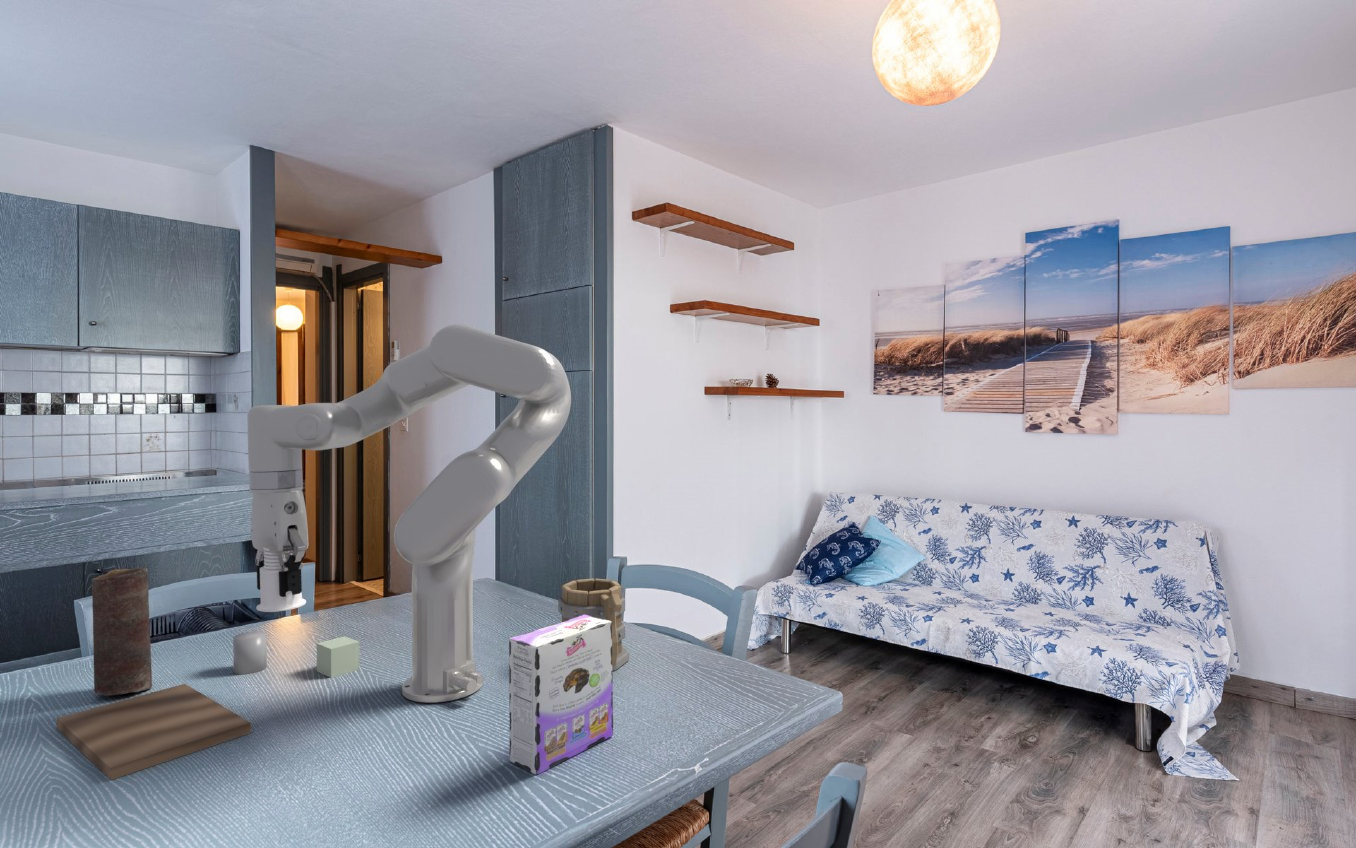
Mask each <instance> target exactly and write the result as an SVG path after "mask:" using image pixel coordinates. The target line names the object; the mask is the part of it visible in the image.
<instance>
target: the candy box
mask: <svg viewBox="0 0 1356 848" xmlns="http://www.w3.org/2000/svg"><path fill="white" fill-rule="evenodd" d="M508 642H509V643H508V645H509V647H508V649H509V651H508V653H509V654H508V655H509V658H508V659H509V660H508V661H509V663H508V665H509V666H508V667H509V669H508V672H509V680H508V681H509V688H508V689H509V691H508V692H509V699H508V700H509V714H508V715H509V762H511V763H513V764H515V765H516V766H518V767H520V768H523V769H524V770H525V771H528V772H529V773H530V774H533V775H536V776H537V775H539V774H541V773H543V772H546V771H548V770H550V769H551V768H553V767H554V766H557V765H559V764H562V763H563V762H564V761H566V760H568V759H571V758H572V757H575V756H576V755H579V754H580V753H583V752H584V751H586V750H587V749H590V748H592V747H594V746H596V745H597V744H600V743H601V742H604V741H605V740H607V739H608V738H611V737H612V736H614V706H613V705H614V703H613V700H614V698H613V685H614V684H613V683H614V682H613V671H612V621H608V620H604V619H601V618H596V617H592V616H588V615H582V616H579V617H576V618H573V619H570V620H567V621H564V622H562V621H561V622H558V623H555V624H552V625H548V626H546V627H542V628H539V629H536V630H533V631H528V632H526V633H523V634H520V635H516V636H514V637H510V638H509V639H508Z"/></svg>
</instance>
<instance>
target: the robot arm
mask: <svg viewBox="0 0 1356 848" xmlns="http://www.w3.org/2000/svg"><path fill="white" fill-rule="evenodd" d="M470 385H471V386H474V387H478V388H480V389H484V390H487V391H492V392H496V393H497V394H501V395H505V396H508V397H512V398H515V399H518V400H519V401H518V403H517V405H516V406H515V408H514V409H513V410H512V412H511V413H510V414H508V415H507V416H506V417H505V418H504V419H503V420H502V421H501V423H499V425H498V426H497V427H496V428H495V430H494V431H492V433H491V434H490V435H489V436H488V437H487V438H486V439H485V440H484V441H483V442H482V443H481V444H480V445H478V446H477V447H476V448H475V449H472V450H469V451H468V450H467V451H465V452H463V453H462V454H460V455H457V457H455V458H454V459H453V460H451V461H450V462H449V463H448V464H447V465H446V466H445V467H444V468H443V469H442V470H441V471H440V472H439V474H437V476H436V477H435V478H434V479H433V480H432V481H431V482H430V483H429V484H428V485H427V486H426V487H425V488H424V489H423V491H422V492H421V493H419V495H418V496H417V497H416V498H415V499H414V500H413V501H412V502H411V503H410V504H409V506H408V507H407V508H406V509H405V510H404V511H403V512H402V514H401V515H400V516H399V518H398V520H397V521H396V524H395V527H394V531H393V542H394V546H395V549H396V551H397V552H398V554H399V556H400V557H401V558H403V560H405V561H406V562H408V563H409V564H412V571H411V659H412V660H411V663H412V664H411V669H412V670H411V671H412V672H411V674H412V676H411V677H409V678H408V679H406V680H405V681H404V682H403V683H402V686H401V693H402V696H403V697H404V698H406V699H407V700H409V701H413V702H418V703H431V704H432V703H444V702H450V701H455V700H459V699H462V698H465V697H468V696H471V695H472V694H474V693H476V692H477V691H478V690H480V689H481V688H482V687H483V683H484V679H485V678H484V675H483V674H482V673H480V672H479V671H478V670H477V662H476V661H474V614H473V613H474V612H473V610H474V606H473V605H474V603H473V602H474V601H473V599H474V597H473V595H474V593H473V592H474V553H475V543H476V528H477V527H478V526H479V525H480V524H481V523H482V521H484V520H485V518H486V517H487V516H488V515H489V514H490V513H491V512H492V511H493V510H494V509H495V508H496V507H497V506H498V505H499V504H500V503H502V502H503V501H505V499H507V497H509V495H510V494H511V492H512V491H513V490H514V488H515V486H516V485H517V484H518V483H519V482H520V481H521V480H522V478H524V476H525V475H526V474H527V473H528V472H529V471H530V469H531V468H532V467H533V466H534V465H535V464H536V462H538V461H539V460H540V458H541V457H542V456H543V455H544V453H545V452H546V451H547V450H548V449H549V448H550V446H551V445H552V444H553V443H554V442H555V441H556V439H557V438H558V437H559V435H560V434H561V432H562V431H563V428H564V427H565V425H566V423H567V421H568V418H569V415H570V411H571V405H572V392H571V386H570V381H569V379H568V376H567V373H566V371H565V369H564V367H563V365H562V363H561V362H560V361H559V359H558V358H557V357H555V355H553V354H552V353H550V352H548V351H547V350H545V349H544V348H541V347H539V346H536V345H533V344H529V343H526V342H521V341H518V340H515V339H512V338H508V337H504V336H502V335H498V334H494V333H491V332H487V331H485V330H480V329H478V328H476V327H473V326H469V325H466V324H461V323H459V324H457V323H455V324H451V325H450V324H449V325H448V326H445V327H442V328H441V329H439V330H438V331H437V332H436V333H435V334H434V335H433V337H432V339H431V340H430V342H429V345H426V346H424V347H423V348H421V349H419V350H416V351H415V352H412V353H411V354H409V355H406V356H404V357H402V358H400V359H398V360H395V361H393V362H391V363H389V364H388V365H387V366H386V368H384V370H383V373H382V375H381V377H380V378H379V379H378V380H377V382H375V383H374V384H372V385H371V386H369V387H367V388H366V389H364V390H362V391H360V392H358V393H356V394H354V395H352V396H350V397H348V398H346V399H343V400H342V401H341V400H340V401H338V402H336V403H335V402H311V403H305V404H298V405H289V404H287V405H286V404H284V405H283V404H282V405H281V404H264V405H263V404H262V405H255V406H252V407H251V408H250V409H249V410H248V412H247V419H246V420H247V448H248V449H247V454H248V455H247V457H248V482H249V483H248V489H249V490H248V493H250V494H251V493H252V497H251V498H252V501H251V515H250V516H251V519H250V520H251V523H250V527H251V528H250V529H251V533H250V534H251V543H252V547H253V548H254V550H253V553H254V554H255V565H256V588H257V590H259V591H260V568H261V567H263V566H264V565H265V564H264V551H266V552H270V553H273V554H276V555H278V558H279V562H280V566H281V570H282V571H280V572H279V595H280V596H281V597H286V592H288V591H292V595H295V594H300V593H301V592H302V591H303V589H302V587H303V586H302V569H303V561H304V558H305V557H304V556H305V553H306V550H307V549H308V548H309V544H310V543H309V530H308V517H307V508H306V502H305V496H304V493H303V489H304V486H303V485H304V482H303V478H304V477H303V452H302V451H303V450H306V451H307V450H308V451H325V450H330V449H336V448H337V449H339V448H345V447H348V446H351V445H354V444H356V443H358V442H361V441H362V440H364V439H367V438H369V437H371V436H373V435H375V434H377V433H379V432H381V431H382V430H384V429H386V428H389V427H390V426H392V425H394V424H396V423H397V422H399V421H401V420H402V419H405V418H407V417H408V416H411V415H412V414H413V413H415V412H417V411H418V410H420V409H422V408H424V407H427V406H428V405H431V404H433V403H434V402H436V401H439V400H440V399H442V398H444V397H447V396H449V395H451V394H453V393H455V392H457V391H460V390H461V389H463V388H465V387H467V386H470ZM288 547H293V548H292V550H287V551H284V549H283V548H288ZM264 548H267V549H269V551H267V550H264ZM285 556H289V558H288V560H287V561H286V557H285ZM302 593H303V592H302Z"/></svg>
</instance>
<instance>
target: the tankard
mask: <svg viewBox="0 0 1356 848" xmlns="http://www.w3.org/2000/svg"><path fill="white" fill-rule="evenodd" d="M622 592H623V591H622V585H621V584H620V583H619V582H617V581H615V580H614V579H613V580H612V579H605V578H603V579H602V578H594V577H593V578H585V579H575V580H572V581H569V582H567V583H564V584H563V585H562V586H561V597H560V598H558V600H557V611H558V613H559V614H560V615H561V622H564V621H567V620H570V619H573V618H576V617H579V616H582V615H588V616H592V617H596V618H601V619H604V620H608V621H612V672H615V671H616V670H618V669H620V668H622V666H623V665H625V664H626V663H628V662H629V661H630V651H628V650H627V648H625V647H624V646H623V645H622V643H623V642H622V641H623V640H624V639H625V638H626V625H625V624H624V623H622V621H623V620H622V617H623V616H622V615H623V614H622V613H624V612H626V599H625V598H624V597H623V596H622Z"/></svg>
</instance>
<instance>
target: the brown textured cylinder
mask: <svg viewBox="0 0 1356 848" xmlns="http://www.w3.org/2000/svg"><path fill="white" fill-rule="evenodd" d="M91 591H92V595H91V597H92V635H93V636H92V637H93V638H92V639H93V642H92V643H93V690H94V691H93V692H94V694H98V695H101V696H119V695H124V694H125V695H126V694H129V693H140V692H143V691H148V690H151V689H152V687H153V678H152V677H153V672H152V670H153V669H152V652H151V651H152V650H151V646H152V645H151V630H150V629H151V628H150V603H149V602H150V601H149V597H150V596H149V572H148V568H147V567H145V568H143V567H142V568H141V567H138V568H137V567H136V568H131V569H129V568H124V569H123V568H122V569H113V570H109V571H108V572H107V573H105V574H101V575H99V576H96V577H93V578H92V579H91Z"/></svg>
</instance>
